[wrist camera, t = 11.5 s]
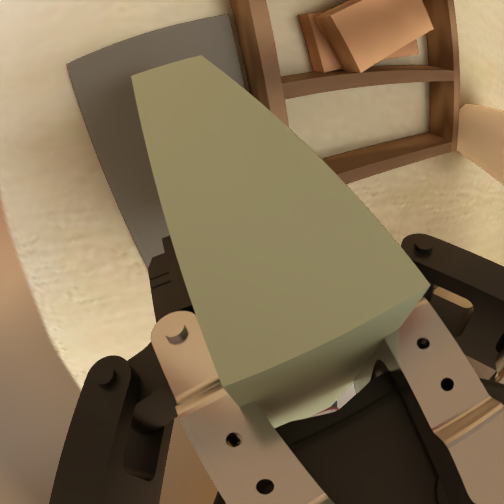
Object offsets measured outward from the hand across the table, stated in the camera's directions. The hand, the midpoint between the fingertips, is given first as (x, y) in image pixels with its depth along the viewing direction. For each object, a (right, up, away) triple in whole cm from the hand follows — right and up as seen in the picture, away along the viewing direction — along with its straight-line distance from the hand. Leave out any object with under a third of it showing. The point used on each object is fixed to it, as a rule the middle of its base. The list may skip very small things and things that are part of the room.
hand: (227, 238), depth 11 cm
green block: (-2, +4, +4) cm, 6 cm away
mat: (-4, +6, +8) cm, 11 cm away
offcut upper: (+9, +16, +5) cm, 19 cm away
